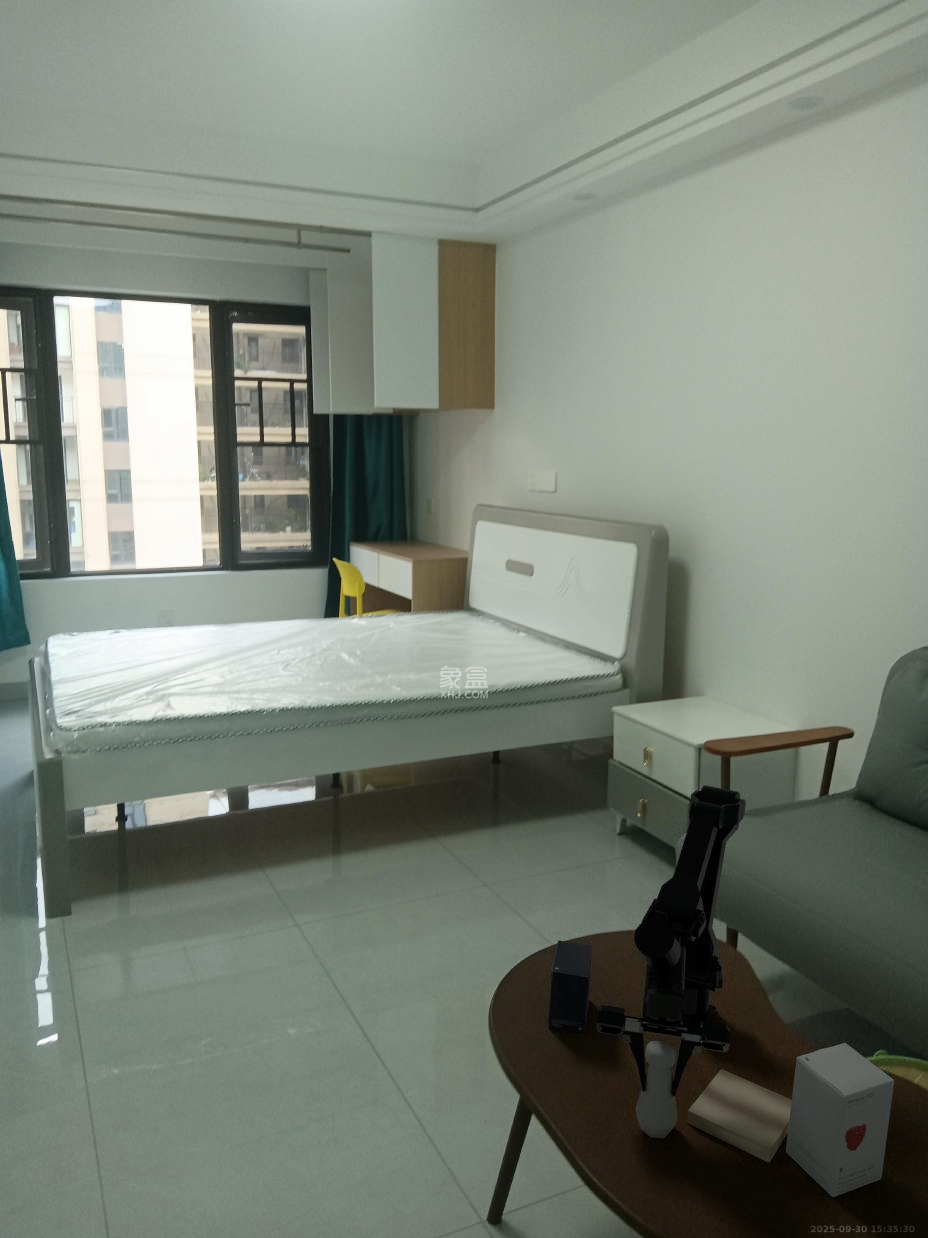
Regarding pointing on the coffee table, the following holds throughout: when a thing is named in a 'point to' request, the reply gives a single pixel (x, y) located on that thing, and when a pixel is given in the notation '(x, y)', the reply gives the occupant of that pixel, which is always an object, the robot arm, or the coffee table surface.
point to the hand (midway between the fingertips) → (658, 1093)
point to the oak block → (742, 1114)
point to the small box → (570, 986)
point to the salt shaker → (658, 1091)
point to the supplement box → (839, 1118)
